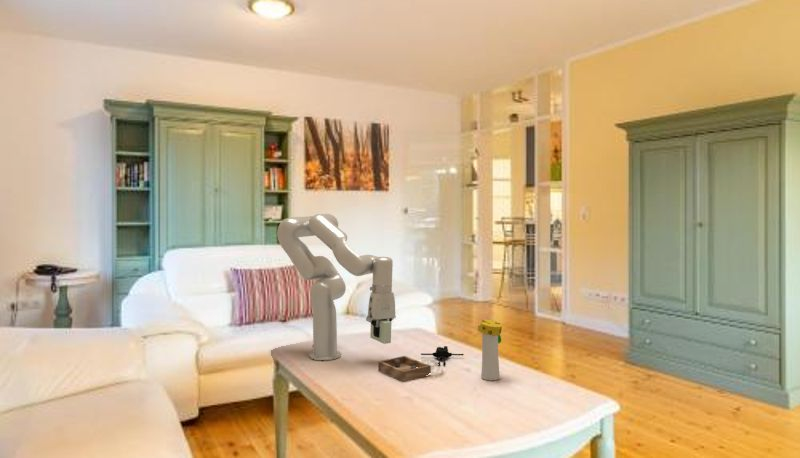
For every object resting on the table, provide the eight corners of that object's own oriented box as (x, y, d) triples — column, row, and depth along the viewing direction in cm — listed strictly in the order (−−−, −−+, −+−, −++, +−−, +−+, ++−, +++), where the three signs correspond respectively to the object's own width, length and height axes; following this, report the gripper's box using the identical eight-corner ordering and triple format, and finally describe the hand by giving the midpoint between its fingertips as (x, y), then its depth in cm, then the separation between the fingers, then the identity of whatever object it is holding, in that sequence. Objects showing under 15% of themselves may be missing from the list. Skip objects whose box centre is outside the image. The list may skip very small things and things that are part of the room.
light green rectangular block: (370, 337, 206) (371, 317, 205) (377, 336, 207) (378, 316, 207) (384, 343, 197) (384, 323, 197) (391, 342, 199) (392, 322, 199)
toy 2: (505, 375, 185) (505, 319, 184) (499, 383, 177) (498, 324, 176) (483, 372, 188) (482, 317, 187) (476, 380, 180) (475, 322, 179)
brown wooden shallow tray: (378, 370, 192) (378, 361, 192) (404, 364, 199) (404, 355, 199) (403, 382, 179) (403, 372, 179) (430, 375, 186) (430, 365, 186)
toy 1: (464, 369, 196) (463, 355, 211) (464, 357, 196) (463, 344, 211) (419, 368, 198) (421, 354, 213) (419, 356, 198) (421, 343, 212)
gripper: (369, 292, 193) (367, 341, 194) (404, 289, 203) (403, 335, 204) (358, 289, 200) (357, 336, 201) (394, 286, 209) (392, 331, 210)
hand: (380, 335), depth 202 cm, fingers closed on light green rectangular block, 3 cm apart
